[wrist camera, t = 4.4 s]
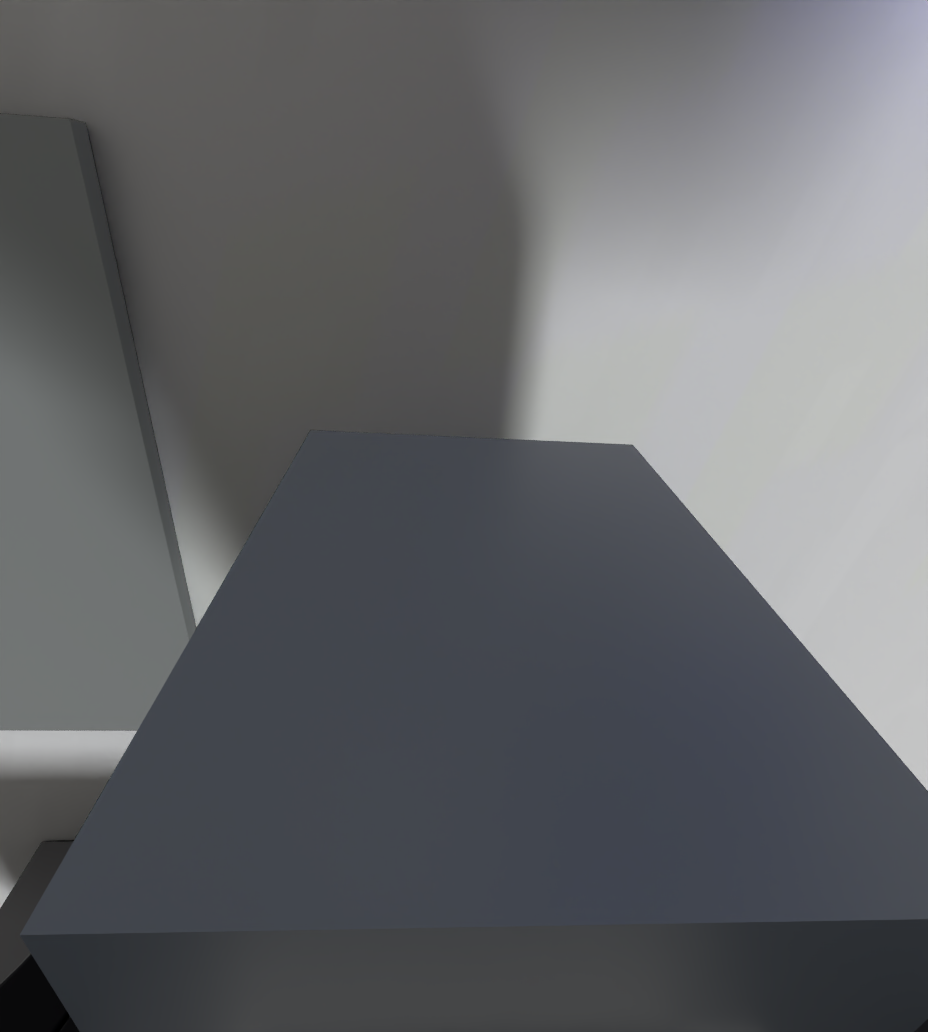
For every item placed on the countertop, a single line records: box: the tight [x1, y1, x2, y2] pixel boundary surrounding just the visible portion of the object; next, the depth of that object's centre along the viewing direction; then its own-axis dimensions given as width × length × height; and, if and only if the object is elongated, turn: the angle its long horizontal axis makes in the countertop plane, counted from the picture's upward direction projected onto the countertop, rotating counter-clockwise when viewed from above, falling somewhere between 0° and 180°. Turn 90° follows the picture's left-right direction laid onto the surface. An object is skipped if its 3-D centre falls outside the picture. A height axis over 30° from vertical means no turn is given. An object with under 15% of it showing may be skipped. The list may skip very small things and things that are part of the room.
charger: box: [20, 430, 928, 1032], centre depth 7 cm, size 4×9×6 cm, turn 176°
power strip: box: [0, 841, 73, 983], centre depth 15 cm, size 20×8×4 cm, turn 87°
